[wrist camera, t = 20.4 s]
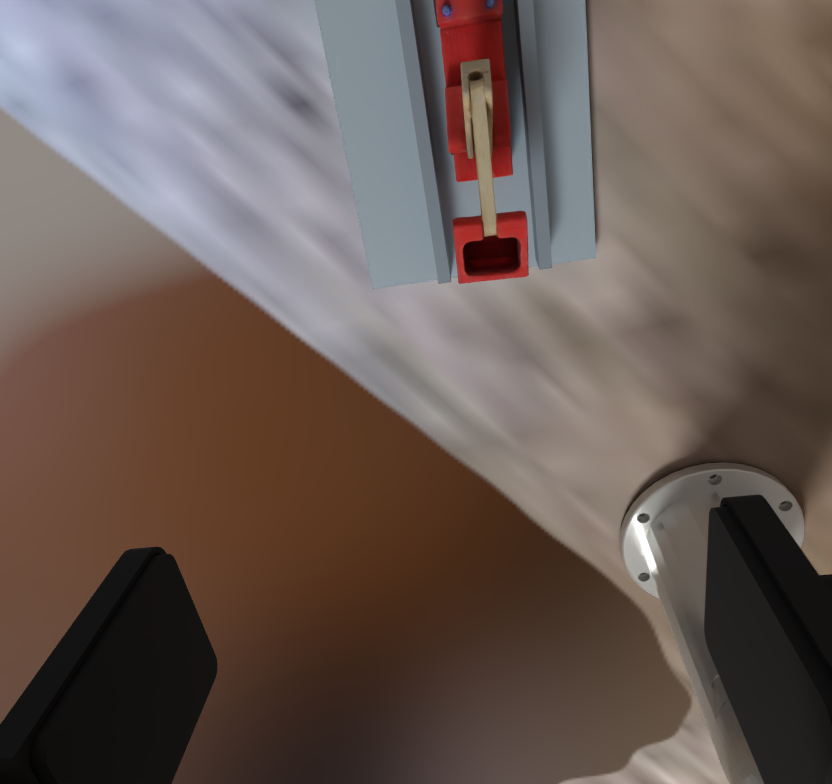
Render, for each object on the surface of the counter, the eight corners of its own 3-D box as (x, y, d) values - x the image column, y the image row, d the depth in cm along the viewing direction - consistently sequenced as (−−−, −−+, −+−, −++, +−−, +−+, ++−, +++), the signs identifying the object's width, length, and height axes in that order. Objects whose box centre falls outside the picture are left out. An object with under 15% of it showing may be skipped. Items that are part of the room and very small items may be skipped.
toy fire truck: (497, -44, 31) (509, -89, 23) (516, 234, 37) (531, 283, 29) (430, -33, 32) (416, -72, 23) (459, 241, 38) (457, 291, 29)
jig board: (592, 253, 38) (604, 269, 35) (374, 284, 40) (366, 302, 37) (570, -255, 28) (583, -295, 25) (282, -183, 30) (260, -212, 27)
